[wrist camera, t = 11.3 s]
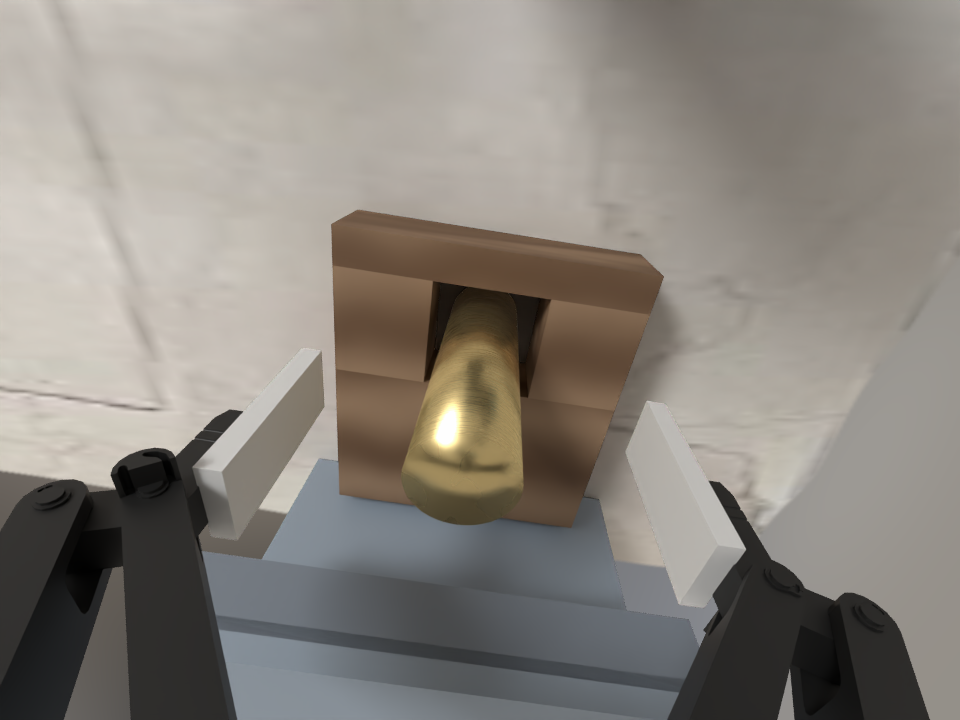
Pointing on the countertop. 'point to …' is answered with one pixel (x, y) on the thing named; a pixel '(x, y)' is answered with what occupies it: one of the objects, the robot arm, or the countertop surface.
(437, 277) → the socket block
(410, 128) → the countertop surface
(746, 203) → the countertop surface
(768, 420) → the countertop surface
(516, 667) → the blue-grey hooked bracket
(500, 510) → the peg
